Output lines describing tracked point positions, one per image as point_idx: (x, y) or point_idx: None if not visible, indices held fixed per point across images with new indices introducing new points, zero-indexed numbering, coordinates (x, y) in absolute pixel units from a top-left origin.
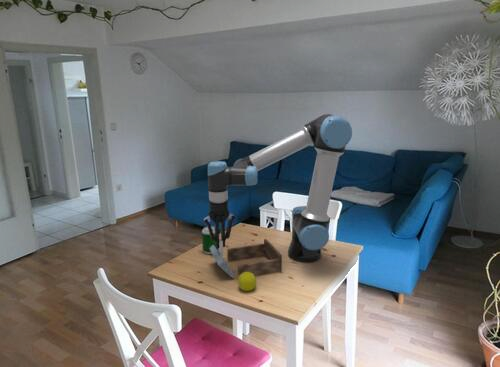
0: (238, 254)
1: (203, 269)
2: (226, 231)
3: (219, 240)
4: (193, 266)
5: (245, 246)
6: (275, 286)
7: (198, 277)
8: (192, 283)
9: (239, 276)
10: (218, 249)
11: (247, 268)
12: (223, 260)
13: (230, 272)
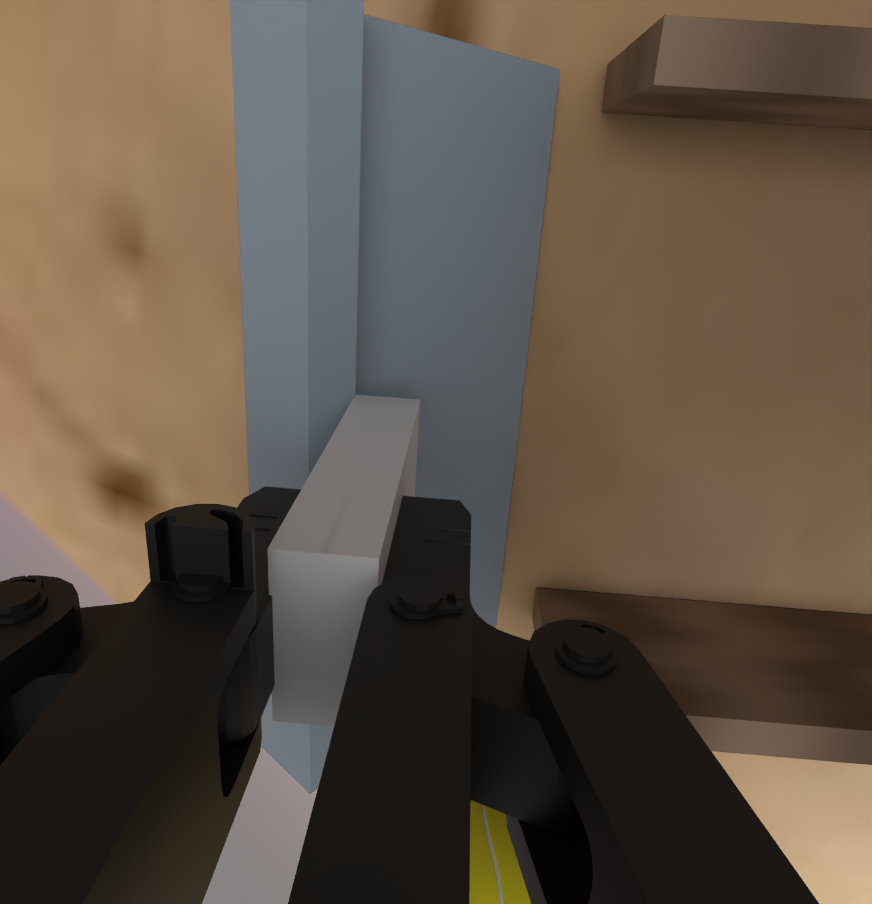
0: (826, 114)
1: (197, 191)
2: (594, 836)
3: (289, 663)
4: (60, 20)
5: None
6: (795, 829)
7: (111, 383)
8: (37, 485)
9: (469, 892)
10: (339, 426)
11: None
12: (479, 272)
13: None
